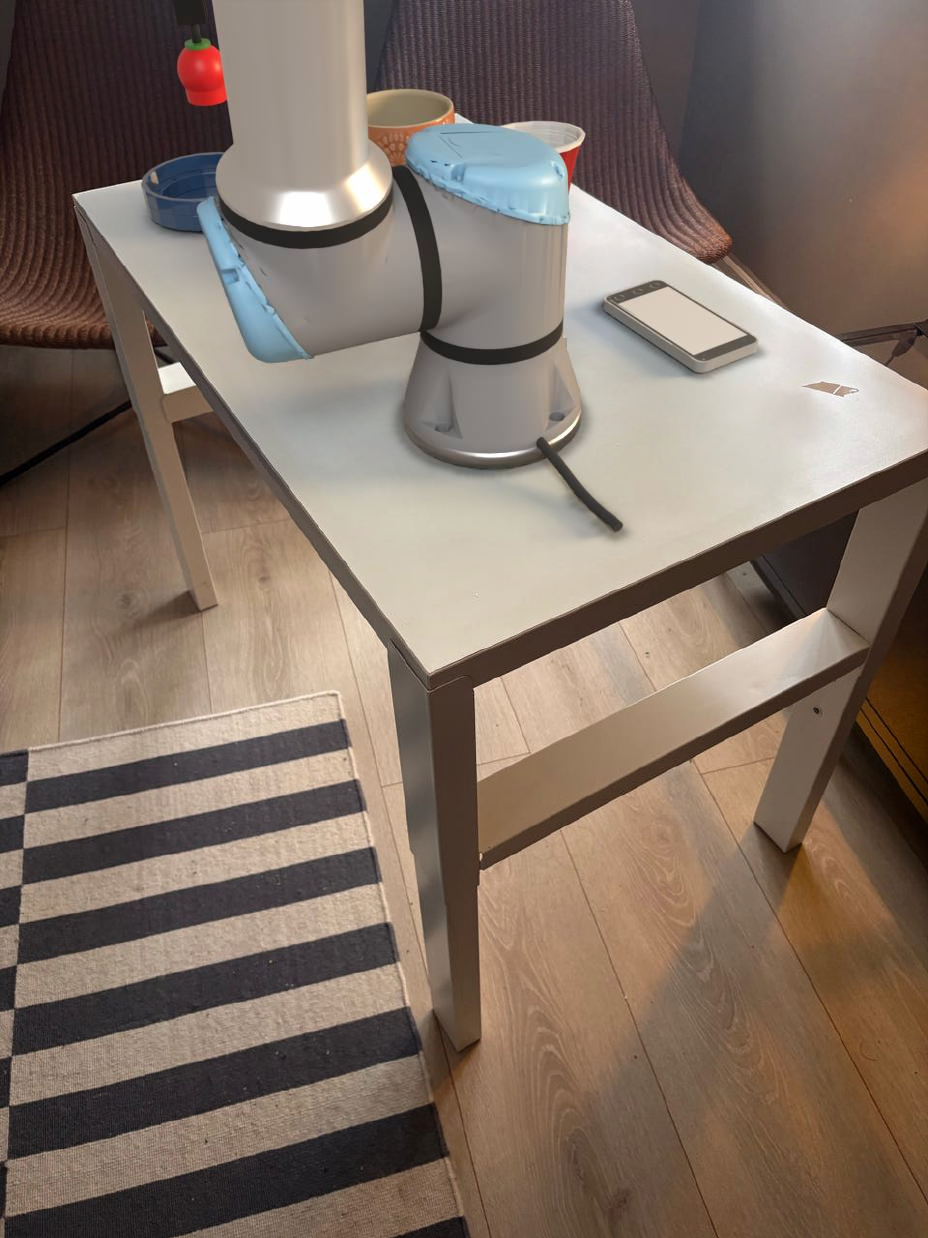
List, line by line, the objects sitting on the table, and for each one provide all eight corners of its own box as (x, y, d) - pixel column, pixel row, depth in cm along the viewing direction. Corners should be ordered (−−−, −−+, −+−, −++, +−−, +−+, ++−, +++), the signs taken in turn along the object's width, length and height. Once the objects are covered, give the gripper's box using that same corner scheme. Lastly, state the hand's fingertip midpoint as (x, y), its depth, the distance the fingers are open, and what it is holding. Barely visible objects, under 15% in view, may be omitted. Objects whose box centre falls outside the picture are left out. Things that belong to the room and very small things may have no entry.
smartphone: (659, 277, 102) (762, 340, 93) (658, 287, 103) (760, 350, 94) (600, 297, 100) (700, 364, 90) (599, 307, 100) (699, 374, 91)
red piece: (231, 105, 99) (198, -77, 88) (182, 108, 99) (142, -74, 88) (233, 88, 102) (201, -90, 91) (185, 91, 102) (148, -87, 91)
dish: (269, 229, 116) (263, 195, 113) (144, 240, 115) (135, 205, 112) (271, 180, 126) (265, 147, 123) (156, 190, 125) (147, 156, 122)
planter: (339, 224, 116) (327, 124, 109) (370, 181, 125) (360, 85, 117) (444, 231, 114) (439, 130, 106) (467, 187, 123) (465, 90, 115)
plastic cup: (557, 218, 116) (561, 106, 107) (595, 257, 108) (602, 141, 100) (467, 234, 114) (464, 121, 105) (500, 275, 106) (499, 158, 98)
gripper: (168, -315, 74) (230, 41, 91) (181, -327, 84) (235, -3, 100) (63, -311, 73) (145, 47, 90) (89, -323, 83) (159, 2, 100)
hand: (192, 20), depth 95 cm, fingers closed on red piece
